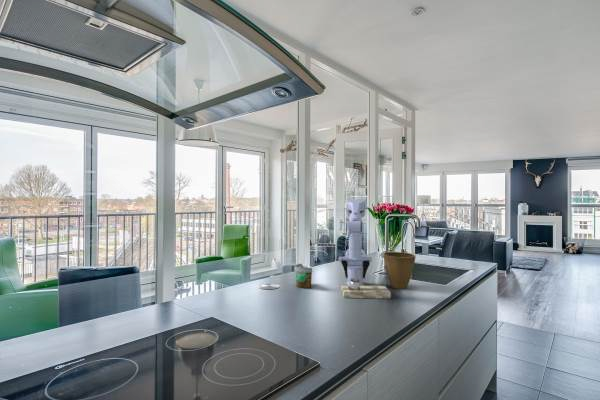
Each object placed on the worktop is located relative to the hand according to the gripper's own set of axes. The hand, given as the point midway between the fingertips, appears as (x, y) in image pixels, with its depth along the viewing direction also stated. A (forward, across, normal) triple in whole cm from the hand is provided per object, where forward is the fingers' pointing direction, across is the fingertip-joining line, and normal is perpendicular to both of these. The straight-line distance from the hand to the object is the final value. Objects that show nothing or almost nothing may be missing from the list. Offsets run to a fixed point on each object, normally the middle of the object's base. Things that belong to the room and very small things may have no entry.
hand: (355, 277), depth 142 cm
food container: (+8, -24, +12) cm, 28 cm away
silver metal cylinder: (+7, 0, 0) cm, 7 cm away
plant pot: (+8, +24, +13) cm, 28 cm away
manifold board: (+7, +4, 0) cm, 9 cm away
